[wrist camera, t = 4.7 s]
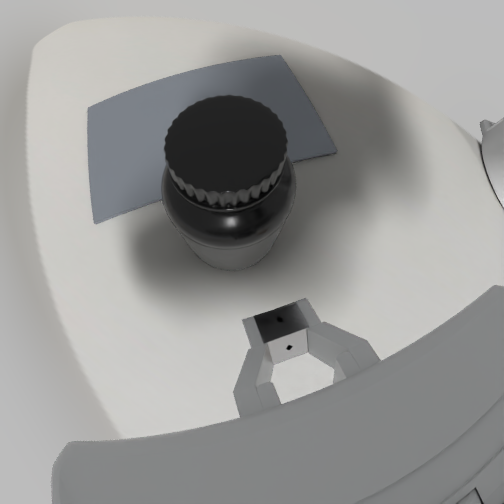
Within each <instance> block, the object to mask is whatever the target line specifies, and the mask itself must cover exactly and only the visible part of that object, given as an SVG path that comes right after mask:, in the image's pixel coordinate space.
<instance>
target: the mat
mask: <svg viewBox="0 0 504 504" xmlns="http://www.w3.org/2000/svg"><path fill="white" fill-rule="evenodd" d="M218 95H222V96H225V95H233V96H243V97H245V98H251V99H253V100H254V101H258V102H261V103H262V104H263V105H264V106H266V107H269V108H270V109H271V111H272V112H274V113H275V114H277V116H278V119H279V120H281V121H282V122H283V127H284V129H285V130H286V132H287V134H286V138H287V140H288V146H287V155H288V157H289V159H290V161H291V162H296V161H300V160H305V159H309V158H314V157H318V156H323V155H328V154H333V153H336V152H337V149H336V147H335V145H334V144H333V142H332V140H331V138H330V136H329V134H328V132H327V130H326V128H325V127H324V125H323V123H322V121H321V119H320V118H319V116H318V114H317V112H316V111H315V109H314V107H313V105H312V104H311V102H310V100H309V99H308V97H307V95H306V94H305V92H304V90H303V89H302V87H301V85H300V84H299V82H298V81H297V79H296V78H295V76H294V74H293V73H292V71H291V70H290V68H289V67H288V65H287V64H286V62H285V61H284V59H283V58H282V56H281V55H275V56H266V57H258V58H251V59H245V60H239V61H233V62H227V63H222V64H217V65H213V66H208V67H204V68H200V69H196V70H192V71H188V72H184V73H180V74H177V75H173V76H170V77H167V78H163V79H160V80H157V81H154V82H151V83H148V84H145V85H142V86H139V87H136V88H134V89H131V90H128V91H126V92H123V93H121V94H118V95H116V96H113V97H111V98H109V99H106V100H104V101H102V102H99V103H97V104H95V105H93V106H91V107H88V127H87V134H88V167H89V182H90V193H91V203H92V212H93V220H94V223H95V224H98V223H101V222H103V221H106V220H108V219H111V218H113V217H116V216H118V215H121V214H124V213H126V212H129V211H132V210H134V209H137V208H140V207H143V206H145V205H148V204H151V203H154V202H157V201H160V200H162V195H161V181H162V175H163V171H164V168H165V166H166V162H165V153H164V146H165V137H166V135H167V134H168V132H167V131H168V128H169V127H170V126H171V125H172V121H173V120H174V119H175V118H177V117H178V115H179V113H180V112H182V111H184V110H185V109H186V108H187V107H188V106H190V105H193V104H195V103H196V102H197V101H201V100H204V99H206V98H208V97H215V96H218Z"/></svg>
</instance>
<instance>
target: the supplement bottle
mask: <svg viewBox="0 0 504 504" xmlns="http://www.w3.org/2000/svg"><path fill="white" fill-rule="evenodd" d="M167 132H168V134H167V135H166V137H165V146H164V153H165V162H166V166H165V168H164V171H163V175H162V181H161V195H162V201H163V204H164V207H165V210H166V212H167V214H168V216H169V218H170V220H171V221H172V223H173V224H174V226H175V227H176V228H177V230H178V231H179V232H180V234H181V235H182V237H183V238H184V239H185V241H186V242H187V243H188V245H189V246H190V247H191V249H192V250H193V251H194V252H195V254H196V255H197V256H198V257H199V258H200V259H201V260H202V261H204V262H205V263H207V264H208V265H210V266H212V267H215V268H218V269H221V270H229V271H233V270H241V269H245V268H248V267H250V266H252V265H254V264H256V263H257V262H259V261H260V260H261V259H262V258H263V257H264V256H265V255H266V254H267V253H268V252H269V250H270V248H271V247H272V245H273V244H274V242H275V240H276V238H277V236H278V234H279V232H280V230H281V228H282V226H283V225H284V223H285V221H286V219H287V217H288V215H289V213H290V211H291V208H292V205H293V202H294V199H295V194H296V176H295V172H294V168H293V165H292V163H291V161H290V159H289V157H288V155H287V146H288V140H287V138H286V134H287V132H286V130H285V129H284V127H283V122H282V121H281V120H279V119H278V116H277V114H275V113H274V112H272V111H271V109H270V108H269V107H266V106H264V105H263V104H262V103H261V102H258V101H254V100H253V99H251V98H245V97H243V96H233V95H225V96H222V95H218V96H215V97H208V98H206V99H204V100H201V101H197V102H196V103H195V104H193V105H190V106H188V107H187V108H186V109H185V110H184V111H182V112H180V113H179V115H178V117H177V118H175V119H174V120H173V121H172V125H171V126H170V127H169V128H168V131H167Z"/></svg>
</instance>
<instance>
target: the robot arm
mask: <svg viewBox="0 0 504 504" xmlns="http://www.w3.org/2000/svg"><path fill="white" fill-rule="evenodd" d="M480 127H481V131H482V135H483V139H482V154H483V159H484V163H485V167H486V170H487V173H488V176H489V179H490V181H491V184H492V186H493V188H494V190H495V193H496V195H497V197H498V199H499V200H500V202H501V204H502V206H503V207H504V118H503V119H501V120H500V121H499V122H497V123H496V124H495V123H492V122H490V121H487V120H483V121H482V122H480ZM242 321H243V325H244V328H245V331H246V333H247V336H248V339H249V342H250V345H251V349H248V352H247V355H246V358H245V360H244V363H243V366H242V369H241V372H240V374H239V377H238V380H237V383H236V385H235V388H234V391H233V393H234V397H235V401H236V404H237V408H238V411H239V415H240V418H236V419H233V420H229V421H225V422H221V423H217V424H213V425H209V426H204V427H200V428H195V429H190V430H185V431H179V432H174V433H168V434H162V435H155V436H148V437H140V438H131V439H120V440H106V441H74V442H69V443H68V444H67V445H66V446H65V447H64V449H63V450H62V451H61V453H60V454H59V456H58V457H57V459H56V461H55V462H54V465H53V469H52V478H51V482H52V483H51V488H52V504H504V287H503V286H499V285H494V286H492V287H491V288H489V289H488V290H487V291H486V292H485V293H483V294H482V295H481V296H480V297H478V298H477V299H476V300H475V301H473V302H472V303H471V304H469V305H468V306H467V307H465V308H464V309H463V310H461V311H460V312H459V313H457V314H456V315H455V316H453V317H452V318H450V319H449V320H447V321H446V322H445V323H443V324H442V325H440V326H439V327H437V328H436V329H434V330H433V331H431V332H430V333H428V334H426V335H425V336H423V337H422V338H420V339H418V340H417V341H415V342H414V343H412V344H410V345H409V346H407V347H405V348H403V349H402V350H400V351H398V352H397V353H395V354H393V355H391V356H389V357H387V358H386V359H384V360H382V361H381V360H380V359H379V357H378V356H377V354H376V353H375V351H374V350H373V348H372V347H371V345H370V344H369V343H368V341H367V340H365V339H362V338H360V337H358V336H355V335H353V334H351V333H349V332H346V331H344V330H342V329H340V328H338V327H335V326H333V325H331V324H329V323H327V322H321V321H320V319H319V318H318V316H317V314H316V313H315V311H314V309H313V308H312V306H311V305H310V303H309V301H308V300H307V299H306V298H304V299H301V300H299V301H296V302H293V303H290V304H287V305H285V306H282V307H279V308H276V309H274V310H271V311H268V312H265V313H262V314H259V315H255V316H253V317H249V318H246V319H243V320H242ZM307 352H309V354H311V355H313V356H314V357H316V358H317V359H319V360H321V361H322V362H324V363H325V364H327V365H329V366H330V367H332V368H334V369H335V371H334V379H333V384H332V385H330V386H328V387H325V388H323V389H321V390H318V391H316V392H313V393H311V394H308V395H306V396H303V397H300V398H298V399H295V400H292V401H290V402H287V403H284V404H281V402H280V400H279V397H278V395H277V392H276V390H275V387H274V385H273V383H271V382H270V380H271V376H272V372H273V368H274V365H275V364H277V363H280V362H283V361H285V360H288V359H290V358H293V357H296V356H299V355H302V354H305V353H307Z"/></svg>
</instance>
